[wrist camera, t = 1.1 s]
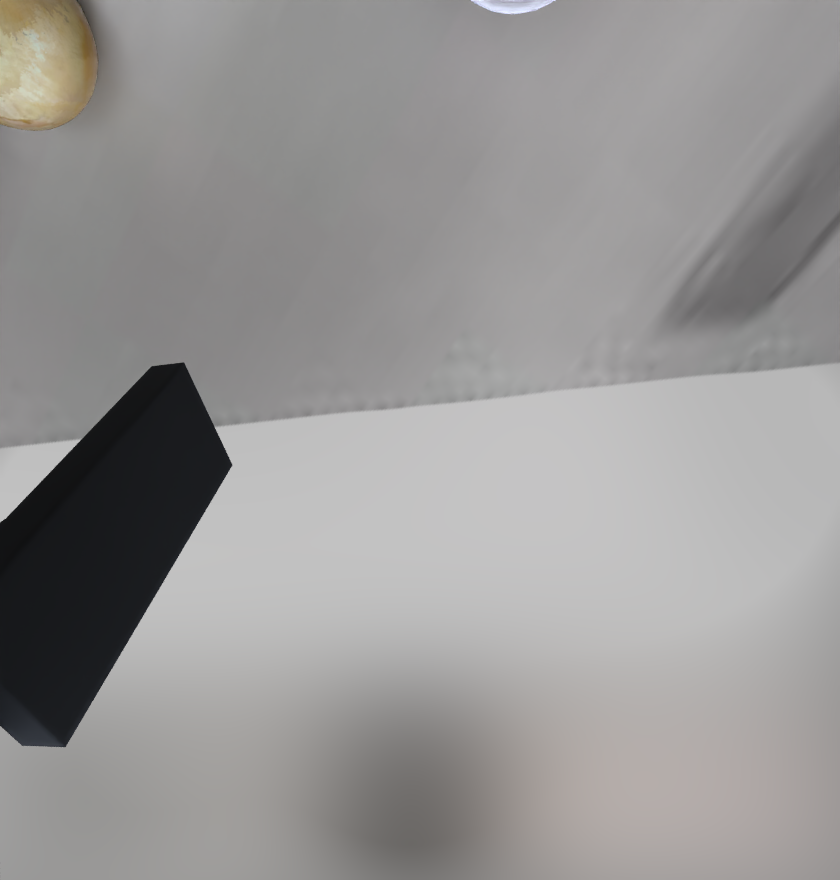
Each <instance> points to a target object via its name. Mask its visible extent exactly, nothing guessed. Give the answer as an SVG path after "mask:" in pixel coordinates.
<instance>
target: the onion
mask: <svg viewBox="0 0 840 880" xmlns="http://www.w3.org/2000/svg"><path fill="white" fill-rule="evenodd" d="M84 13H85V12H84V11H82V9H81V5H80V4H79V3H78V2H76V0H0V124H2V125H5V126H8V127H12V128H17V129H21V130H32V131H38V130H48V129H52V128H55V127H58V126H61V125H63V124H65V123H67V122H69V121H70V120H72V119H73V118H75V117H76V116H77V115H78V114H79V113H80V112H81V111H82V110H83V109H84V107H85V106H86V105H87V103H88V102H89V100H90V98H91V96H92V94H93V91H94V88H95V85H96V79H97V71H98V55H97V48H96V44H95V41H94V37H93V34H92V31H91V29H90V26H89V24H88V21H87V19H86V18H85V15H84Z"/></svg>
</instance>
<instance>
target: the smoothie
mask: <svg viewBox="0 0 840 880" xmlns="http://www.w3.org/2000/svg"><path fill="white" fill-rule="evenodd" d="M471 1H472V2H473V3H475V4H477V5H479V6H481V7H484V8H486V9H488V10H490V11H492V12H498V13H506V14H513V15H514V14H519V13H524V12H530V11H535V10H537V9H539V8H541V7H544V6H546V5H548V4H550V3H551V2H553V1H555V0H471Z"/></svg>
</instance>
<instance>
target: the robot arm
mask: <svg viewBox="0 0 840 880" xmlns="http://www.w3.org/2000/svg"><path fill="white" fill-rule="evenodd" d="M231 467H232V463H231V461H230V459H229V457H228V455H227V453H226V450H225V448H224V446H223V444H222V442H221V440H220V438H219V436H218V434H217V432H216V429H215V427H214V425H213V423H212V421H211V419H210V417H209V414H208V412H207V410H206V408H205V406H204V404H203V402H202V400H201V398H200V395H199V393H198V391H197V389H196V387H195V385H194V383H193V381H192V379H191V376H190V374H189V372H188V370H187V368H186V366H185V364H184V363H176V364H167V365H159V366H152V367H151V368H150V369H149V370H148V371H147V372H146V373H145V374H144V375H143V376H142V377H141V378H140V379H139V380H138V381H137V382H136V383H135V384H134V385H133V386H132V387H131V389H130V390H129V391H128V392H127V393H126V394H125V395H124V396H123V397H122V398H121V399H120V400H119V401H118V402H117V403H116V404H115V405H114V406H113V407H112V408H111V409H110V410H109V411H108V413H107V414H106V415H105V416H104V417H103V418H102V419H101V420H100V421H99V422H98V423H97V424H96V425H95V426H94V427H93V428H92V429H91V430H90V431H89V432H88V433H87V434H86V435H85V437H84V438H83V439H82V440H81V441H80V442H79V443H78V444H77V445H76V446H75V447H74V448H73V449H72V450H71V451H70V452H69V453H68V454H67V455H66V456H65V457H64V458H63V460H62V461H61V462H60V463H59V464H58V465H57V466H56V467H55V468H54V469H53V470H52V471H51V472H50V473H49V474H48V475H47V476H46V477H45V478H44V479H43V481H41V483H40V484H39V485H38V486H37V487H36V488H35V489H34V490H33V491H32V492H31V493H30V494H29V495H28V496H27V497H26V498H25V499H24V500H23V501H22V502H21V503H20V504H19V505H18V507H17V508H16V509H15V510H14V511H13V512H12V513H11V514H10V515H9V516H8V517H7V518H6V519H4V520H3V521H2V522H0V726H1V727H2V728H3V729H4V730H6V731H7V732H8V733H9V734H10V735H11V736H12V737H13V738H14V739H15V740H17V741H18V742H19V743H20V744H21V745H22V746H48V747H66V745H67V744H68V742H69V740H70V738H71V737H72V735H73V733H74V732H75V730H76V728H77V727H78V725H79V723H80V722H81V720H82V718H83V716H84V715H85V713H86V711H87V710H88V708H89V706H90V705H91V703H92V701H93V700H94V698H95V696H96V695H97V693H98V691H99V689H100V688H101V686H102V684H103V683H104V681H105V679H106V678H107V676H108V674H109V672H110V671H111V669H112V668H113V666H114V664H115V662H116V661H117V659H118V657H119V656H120V654H121V652H122V651H123V649H124V647H125V646H126V644H127V642H128V641H129V638H130V637H131V635H132V634H133V632H134V630H135V628H136V627H137V625H138V624H139V622H140V620H141V619H142V617H143V615H144V613H145V612H146V610H147V608H148V607H149V605H150V603H151V602H152V600H153V598H154V597H155V595H156V593H157V591H158V590H159V588H160V586H161V585H162V583H163V581H164V580H165V578H166V576H167V575H168V573H169V571H170V570H171V568H172V566H173V564H174V563H175V561H176V559H177V558H178V556H179V554H180V553H181V551H182V549H183V548H184V546H185V544H186V542H187V541H188V539H189V538H190V536H191V534H192V532H193V531H194V529H195V527H196V526H197V524H198V522H199V521H200V519H201V517H202V515H203V514H204V512H205V510H206V509H207V507H208V505H209V504H210V502H211V500H212V499H213V497H214V495H215V494H216V492H217V490H218V488H219V487H220V485H221V483H222V482H223V480H224V478H225V477H226V475H227V473H228V471H229V470H230V468H231Z"/></svg>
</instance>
